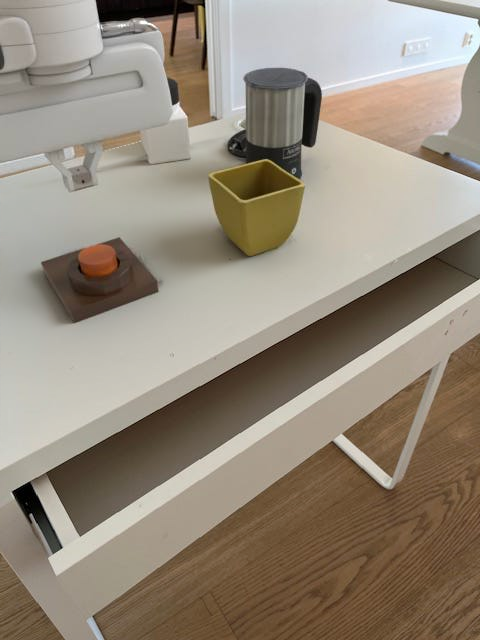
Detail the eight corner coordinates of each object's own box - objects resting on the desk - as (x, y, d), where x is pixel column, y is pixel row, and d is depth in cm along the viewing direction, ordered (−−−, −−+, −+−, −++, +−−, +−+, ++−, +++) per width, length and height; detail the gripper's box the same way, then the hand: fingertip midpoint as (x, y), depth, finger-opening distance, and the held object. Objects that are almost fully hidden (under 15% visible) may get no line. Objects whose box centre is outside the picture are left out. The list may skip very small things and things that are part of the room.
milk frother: (285, 194, 76) (291, 90, 67) (197, 172, 82) (190, 73, 73) (322, 159, 86) (332, 63, 76) (241, 141, 92) (240, 50, 82)
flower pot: (209, 236, 68) (205, 172, 62) (266, 219, 71) (267, 157, 65) (242, 270, 62) (241, 202, 56) (302, 249, 65) (307, 184, 59)
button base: (44, 273, 62) (36, 249, 60) (121, 248, 66) (117, 224, 64) (74, 323, 55) (66, 298, 52) (158, 292, 59) (155, 267, 56)
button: (76, 264, 58) (73, 251, 57) (109, 253, 59) (107, 240, 58) (88, 282, 55) (85, 268, 54) (123, 270, 57) (120, 257, 56)
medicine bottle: (181, 143, 91) (175, 71, 84) (191, 159, 86) (185, 84, 78) (141, 149, 90) (131, 76, 82) (149, 165, 85) (139, 89, 77)
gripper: (145, 9, 48) (162, 152, 57) (-95, 40, 40) (-31, 201, 49) (176, 20, 44) (189, 172, 53) (-85, 58, 36) (-17, 230, 45)
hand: (82, 186), depth 51 cm, fingers closed
